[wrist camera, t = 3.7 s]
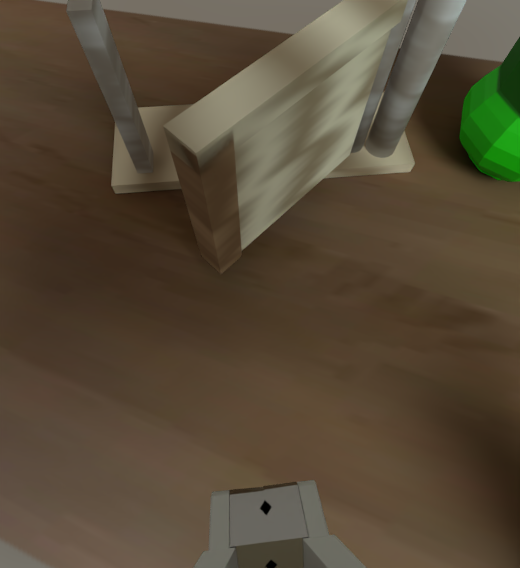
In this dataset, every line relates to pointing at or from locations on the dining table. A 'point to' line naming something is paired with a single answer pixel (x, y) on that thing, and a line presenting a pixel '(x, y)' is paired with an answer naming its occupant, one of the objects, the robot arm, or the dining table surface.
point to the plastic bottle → (495, 120)
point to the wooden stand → (149, 120)
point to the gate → (283, 124)
